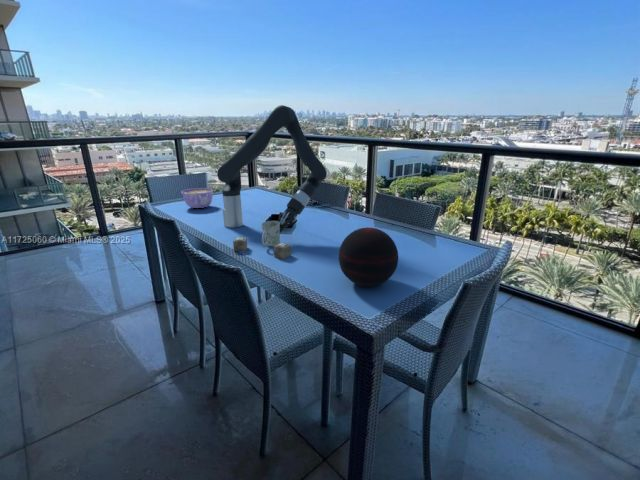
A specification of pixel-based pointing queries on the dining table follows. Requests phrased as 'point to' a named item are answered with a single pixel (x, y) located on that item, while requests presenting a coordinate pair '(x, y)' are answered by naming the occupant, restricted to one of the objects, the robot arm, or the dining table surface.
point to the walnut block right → (282, 250)
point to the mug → (271, 233)
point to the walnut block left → (240, 244)
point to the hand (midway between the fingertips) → (277, 232)
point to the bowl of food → (198, 197)
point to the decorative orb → (368, 257)
